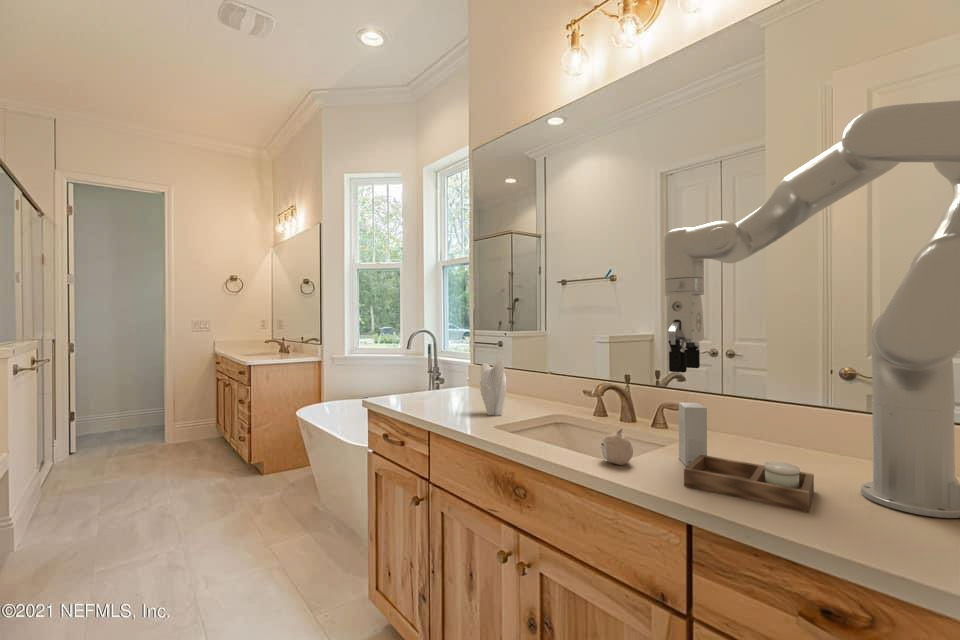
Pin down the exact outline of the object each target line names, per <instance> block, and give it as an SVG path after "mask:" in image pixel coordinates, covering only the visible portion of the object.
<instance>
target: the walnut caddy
mask: <svg viewBox="0 0 960 640" xmlns="http://www.w3.org/2000/svg"><path fill="white" fill-rule="evenodd" d="M814 477H815V474H814V473H811V472H803V471H800V474H799V489H795V488H790V487H784V486H779V485H774V484H769V483H765V469H764V464H763V465H761V464H758V463H752V462H751V463H750V462H745V461H739V460H734V459H728V458H723V457H715V456H712V455H711V456H709V455H707V456H705V455H699V456H698V457H697V458H696V459H695V460H694V461H693V462H691V463H690V464H689V465H688V466H685V468H684V469H683V486H684V487H688V488H692V489H697V490H702V491H706V492H711V493H716V494H721V495H725V496H729V497H734V498H739V499H742V500H748V501H752V502H756V503H757V502H758V503H762V504H766V505H771V506H774V507H775V506H776V507H780V508H784V509H790V510H794V511H799V512H803V513H809V512H810V509H811V505H812V501H813V496H814V494H815V481H814V480H815V479H814Z"/></svg>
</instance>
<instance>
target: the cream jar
mask: <svg viewBox="0 0 960 640" xmlns="http://www.w3.org/2000/svg"><path fill="white" fill-rule="evenodd" d="M763 465H764V469H765V483H769V484H774V485H779V486H784V487H790V488H795V489H799V474H800V472H801V468H800V467H798V466H797V465H795V464H791V463H787V462H782V461H766V462H764V463H763Z"/></svg>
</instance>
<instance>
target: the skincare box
mask: <svg viewBox="0 0 960 640" xmlns="http://www.w3.org/2000/svg"><path fill="white" fill-rule="evenodd" d="M707 411H708V409H707V407H706V406H704V405H702V404H700V403H699V402H698V403H697V402H683V401H682V402H678V458H679V460H680V461H681V462H682V463H683V464H684V466H685V467H687V466H688V465H689V464H690V463H691V462H693V461H694V460H695V459H696V458H697V457H698V456H699V455H705V456H708V415H707V414H708V413H707Z"/></svg>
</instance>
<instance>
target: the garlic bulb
mask: <svg viewBox="0 0 960 640" xmlns="http://www.w3.org/2000/svg"><path fill="white" fill-rule="evenodd" d="M600 444H601V446H600V448H601V453H602V456H603V458H604V460H606V461H607V462H609V463H610V462H611V464H613V463H614V464H615V465H619V466H623V465H626V464H627V463H629V462H630V460H632V457H633V455H634V447H633V446H632V443H631V441H630V440H629V438H628V436H626V435H625V434H624V433H623V428H620V429H619V430H618V431H617V432H613V433H609V434H607V435H605V437H603V439H602V441H601V443H600Z"/></svg>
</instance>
